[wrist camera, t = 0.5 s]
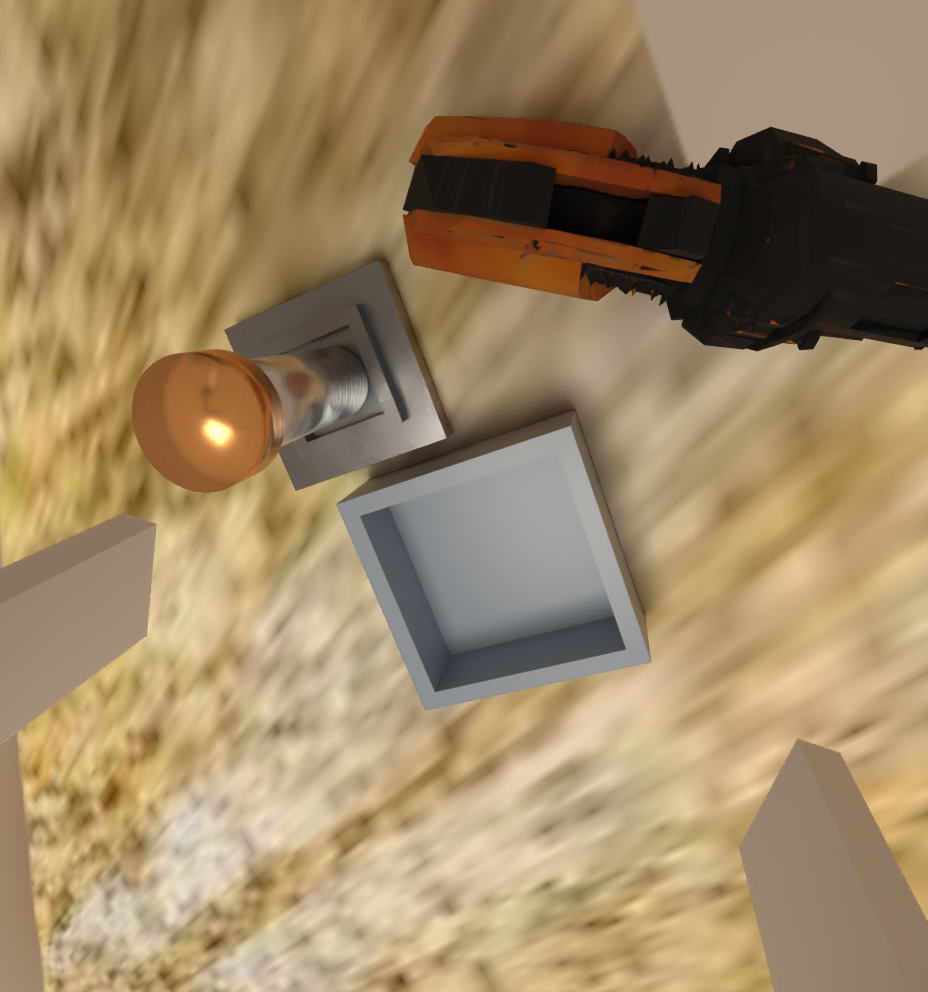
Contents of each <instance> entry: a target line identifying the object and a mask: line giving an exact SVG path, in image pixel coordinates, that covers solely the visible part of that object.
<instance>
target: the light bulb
mask: <svg viewBox="0 0 928 992" xmlns="http://www.w3.org/2000/svg"><path fill="white" fill-rule="evenodd" d="M367 391H368V381H367V376H366V373H365V370H364V368H363V366H362V365H361V363H360V362H359V360H358V359H357V358H356V357H355V356H354V355H353V354H351V353H350V352H348V351H346V350H344V349H341V348H338V347H325V348H319V349H313V350H307V351H300V352H294V353H288V354H282V355H275V356H269V357H263V358H257V359H250V360H249V359H247V358H246V357H244V356H242V355H240V354H237V353H235V352H231V351H227V350H219V349H216V350H204V351H195V352H187V353H178V354H173V355H169V356H166V357H163V358H161V359H160V360H158V361H156V362H155V363H153V364H152V365H151V366H150V367H149V368H148V369H147V370H146V371H145V372H144V373H143V375H142V376H141V378H140V379H139V382H138V384H137V386H136V389H135V392H134V395H133V401H132V421H133V426H134V431H135V434H136V437H137V440H138V442H139V445H140V447H141V449H142V451H143V452H144V454H145V456H146V457H147V459H148V460H149V462H150V463H151V464H152V465H153V466H154V468H155V469H156V470H157V471H158V472H159V473H161V474H162V475H163V476H164V477H165V478H167V479H168V480H169V481H171V482H173V483H174V484H176V485H178V486H180V487H183V488H185V489H188V490H191V491H196V492H217V491H221V490H224V489H226V488H229V487H231V486H233V485H235V484H237V483H239V482H241V481H243V480H245V479H247V478H249V477H251V476H253V475H255V474H257V473H259V472H261V471H262V470H264V469H265V468H266V467H267V466H268V465H269V464H270V463H271V462H272V461H273V460H274V458H275V457H276V455H277V453H278V452H279V449H280V447H281V446H283V445H286V444H288V443H290V442H292V441H295V440H297V439H299V438H301V437H304V436H306V435H308V434H310V433H313V432H315V431H317V430H319V429H322V428H324V427H326V426H328V425H331V424H333V423H335V422H337V421H340V420H342V419H344V418H346V417H349V416H351V415H353V414H354V413H356V412H357V411H358V410H359V409H360V408H361V406H362V405H363V403H364V401H365V399H366V396H367Z"/></svg>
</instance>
